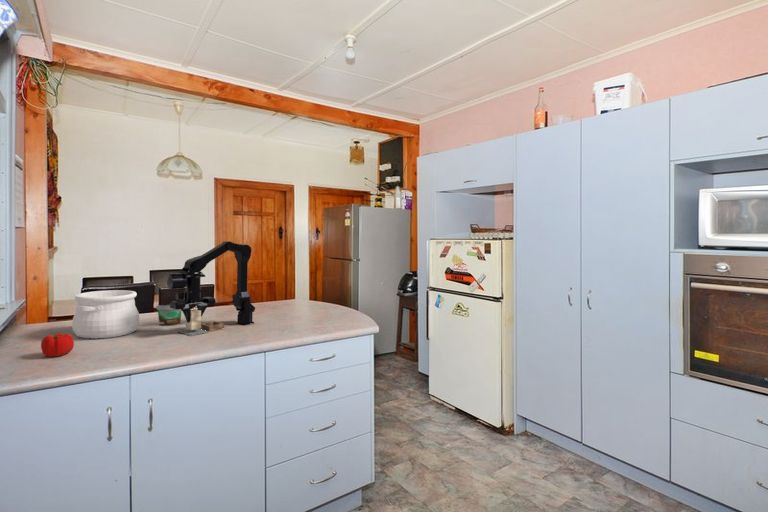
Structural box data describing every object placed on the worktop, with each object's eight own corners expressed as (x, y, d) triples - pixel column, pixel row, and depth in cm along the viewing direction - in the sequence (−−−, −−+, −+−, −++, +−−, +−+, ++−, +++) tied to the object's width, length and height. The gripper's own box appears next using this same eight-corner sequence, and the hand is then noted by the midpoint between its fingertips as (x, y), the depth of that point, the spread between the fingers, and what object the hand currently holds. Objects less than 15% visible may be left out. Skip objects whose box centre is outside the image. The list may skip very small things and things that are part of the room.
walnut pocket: (214, 326, 194) (214, 321, 194) (224, 328, 189) (224, 323, 189) (199, 329, 187) (199, 323, 187) (208, 331, 183) (208, 326, 183)
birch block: (195, 326, 184) (195, 309, 184) (201, 328, 182) (201, 310, 181) (186, 328, 180) (185, 310, 180) (191, 330, 178) (191, 312, 177)
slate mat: (195, 329, 187) (195, 327, 187) (208, 332, 182) (208, 331, 181) (178, 332, 181) (178, 331, 181) (191, 336, 175) (191, 334, 175)
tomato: (79, 351, 150) (78, 331, 149) (60, 359, 141) (60, 338, 140) (53, 351, 149) (53, 331, 149) (33, 358, 140) (32, 337, 140)
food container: (162, 327, 188) (162, 306, 188) (156, 325, 192) (156, 304, 192) (188, 323, 198) (188, 303, 198) (182, 321, 202) (182, 301, 201)
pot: (104, 343, 161) (104, 299, 160) (55, 338, 166) (54, 296, 165) (153, 328, 187) (153, 291, 186) (109, 324, 192) (109, 288, 191)
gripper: (202, 283, 192) (202, 315, 193) (163, 287, 177) (163, 322, 178) (216, 286, 186) (216, 319, 187) (176, 290, 170) (176, 326, 171)
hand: (193, 321), depth 181 cm, fingers closed on birch block, 4 cm apart
